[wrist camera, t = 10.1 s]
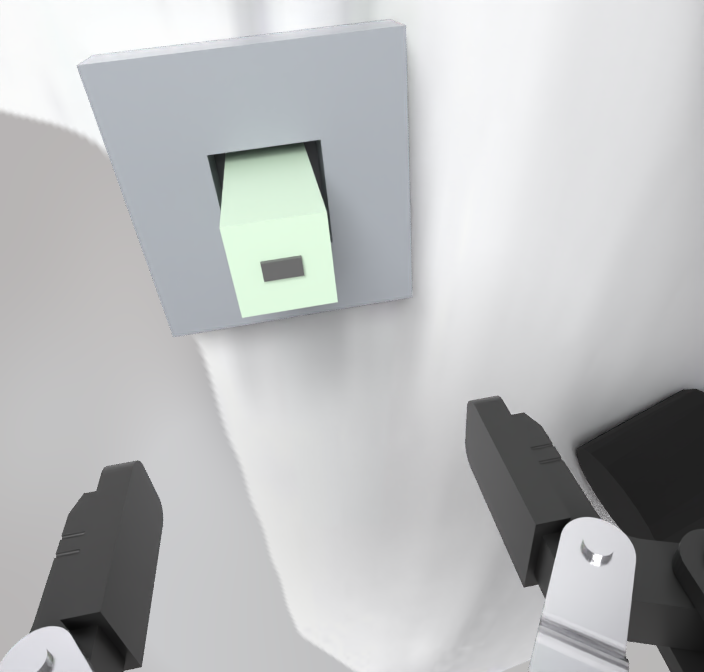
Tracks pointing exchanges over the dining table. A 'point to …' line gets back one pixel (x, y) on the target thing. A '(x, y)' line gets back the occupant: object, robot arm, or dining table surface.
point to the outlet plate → (258, 132)
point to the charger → (276, 231)
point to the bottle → (652, 469)
